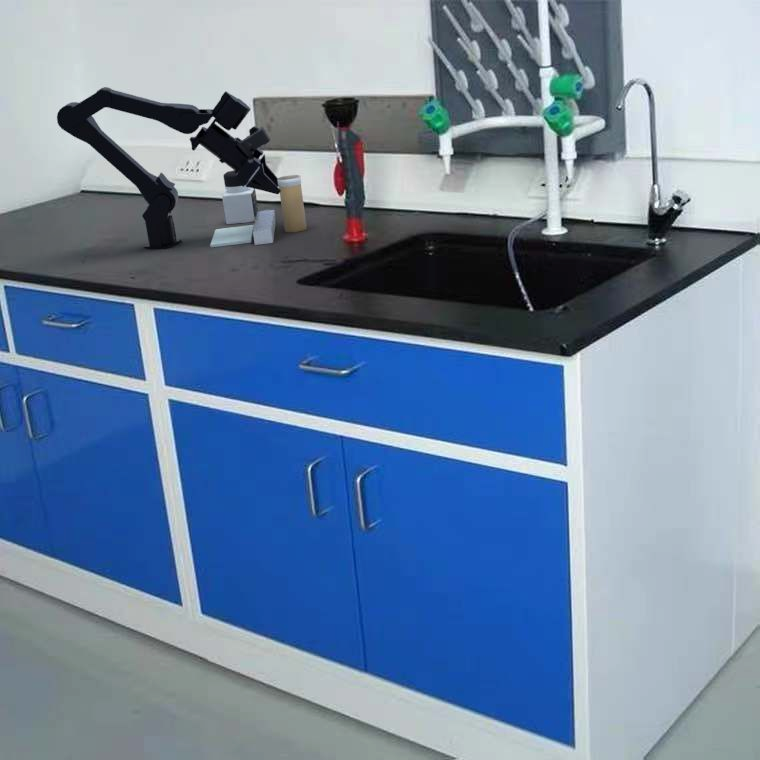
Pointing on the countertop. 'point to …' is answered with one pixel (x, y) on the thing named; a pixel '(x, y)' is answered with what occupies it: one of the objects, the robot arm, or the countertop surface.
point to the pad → (232, 236)
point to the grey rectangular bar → (264, 227)
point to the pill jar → (292, 203)
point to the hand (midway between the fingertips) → (280, 188)
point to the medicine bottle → (238, 201)
